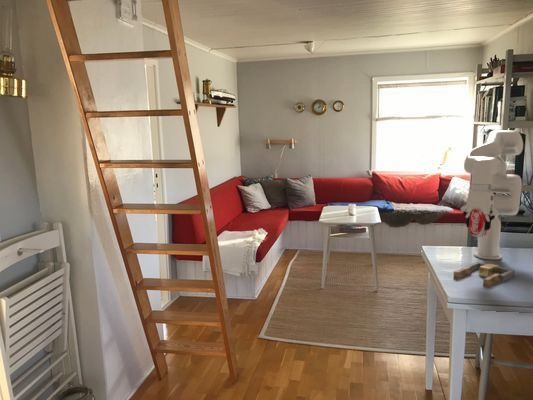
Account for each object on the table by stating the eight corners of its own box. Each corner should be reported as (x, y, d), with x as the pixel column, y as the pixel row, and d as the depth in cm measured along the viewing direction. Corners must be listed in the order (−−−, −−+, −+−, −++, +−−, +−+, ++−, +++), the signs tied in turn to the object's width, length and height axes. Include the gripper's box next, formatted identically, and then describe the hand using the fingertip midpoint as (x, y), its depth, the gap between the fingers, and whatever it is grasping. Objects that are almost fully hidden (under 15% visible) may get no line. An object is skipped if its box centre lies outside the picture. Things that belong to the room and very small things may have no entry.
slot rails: (467, 272, 198) (467, 266, 198) (499, 280, 187) (500, 274, 187) (453, 278, 191) (453, 271, 190) (486, 287, 180) (487, 280, 179)
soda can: (488, 237, 188) (490, 209, 186) (470, 237, 189) (472, 209, 187) (483, 233, 195) (485, 206, 193) (466, 232, 196) (468, 206, 194)
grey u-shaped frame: (476, 266, 206) (477, 261, 206) (514, 275, 194) (514, 270, 193) (464, 272, 199) (464, 266, 199) (502, 281, 187) (503, 275, 186)
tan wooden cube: (484, 273, 197) (484, 265, 196) (492, 276, 194) (493, 267, 193) (478, 275, 195) (479, 266, 194) (487, 277, 192) (488, 268, 191)
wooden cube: (489, 272, 200) (490, 263, 199) (498, 274, 196) (499, 265, 196) (484, 273, 197) (485, 264, 197) (493, 276, 194) (494, 267, 193)
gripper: (506, 188, 185) (502, 230, 188) (464, 184, 198) (462, 223, 201) (498, 190, 180) (495, 233, 183) (456, 186, 193) (454, 226, 196)
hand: (478, 228), depth 192 cm, fingers closed on soda can, 7 cm apart
